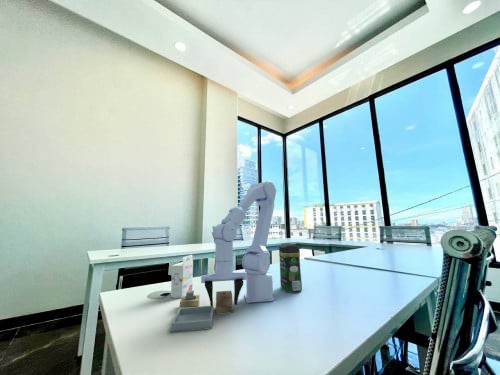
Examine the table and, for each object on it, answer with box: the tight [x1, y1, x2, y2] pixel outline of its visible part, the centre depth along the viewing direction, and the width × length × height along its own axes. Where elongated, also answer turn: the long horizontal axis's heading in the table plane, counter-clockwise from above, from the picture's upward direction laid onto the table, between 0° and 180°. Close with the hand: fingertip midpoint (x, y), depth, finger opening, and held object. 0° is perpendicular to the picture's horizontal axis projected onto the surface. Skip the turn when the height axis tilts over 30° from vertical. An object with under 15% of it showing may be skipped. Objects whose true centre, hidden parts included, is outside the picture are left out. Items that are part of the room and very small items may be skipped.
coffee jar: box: [278, 242, 303, 293], centre depth 87 cm, size 10×8×19 cm
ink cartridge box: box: [170, 254, 194, 299], centre depth 83 cm, size 9×5×15 cm, turn 168°
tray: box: [170, 305, 214, 333], centre depth 58 cm, size 10×10×2 cm
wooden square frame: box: [179, 294, 201, 308], centre depth 68 cm, size 6×6×3 cm
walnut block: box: [215, 290, 233, 315], centre depth 66 cm, size 5×5×5 cm
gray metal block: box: [186, 290, 195, 300], centre depth 68 cm, size 2×2×5 cm
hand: (223, 305), depth 66 cm, fingers open, 7 cm apart
